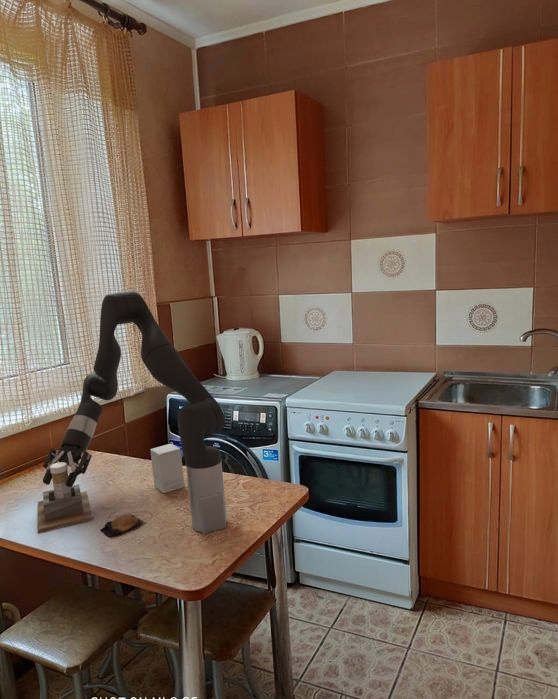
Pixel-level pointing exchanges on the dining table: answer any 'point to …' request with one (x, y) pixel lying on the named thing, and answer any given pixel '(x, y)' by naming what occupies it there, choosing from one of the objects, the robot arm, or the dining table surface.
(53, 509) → the collar board
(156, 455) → the supplement box
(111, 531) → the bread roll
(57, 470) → the sprinkles bottle
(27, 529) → the dining table surface
